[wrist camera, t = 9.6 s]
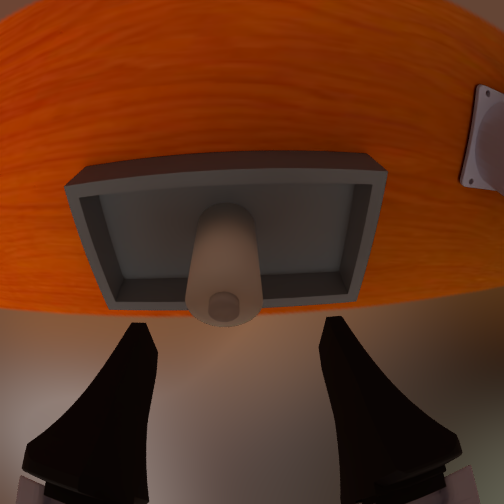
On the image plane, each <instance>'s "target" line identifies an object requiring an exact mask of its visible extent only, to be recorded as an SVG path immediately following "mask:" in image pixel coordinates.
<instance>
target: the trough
mask: <svg viewBox="0 0 504 504" xmlns="http://www.w3.org/2000/svg"><path fill="white" fill-rule="evenodd" d="M387 173H388V171H387V170H385V169H384V168H383V167H382V166H381V165H380V164H379V163H377V162H376V161H375V160H374V159H373V158H372V157H370V156H369V155H368V154H364V153H349V152H328V151H235V152H214V153H198V154H184V155H173V156H162V157H152V158H144V159H135V160H127V161H120V162H113V163H106V164H100V165H93V166H87V167H85V168H84V169H83V170H81V171H80V172H79V173H78V174H77V175H76V176H75V177H74V178H73V179H71V180H70V181H69V182H68V183H67V184H66V185H65V186H64V188H65V192H66V195H67V199H68V202H69V206H70V209H71V212H72V215H73V218H74V221H75V224H76V227H77V230H78V233H79V236H80V239H81V242H82V245H83V247H84V250H85V253H86V256H87V258H88V261H89V263H90V266H91V268H92V271H93V273H94V276H95V278H96V281H97V283H98V285H99V288H100V290H101V292H102V295H103V297H104V299H105V301H106V304H107V306H108V308H109V309H110V310H188V308H187V306H186V302H185V295H186V289H187V283H188V277H189V271H190V265H191V259H192V253H193V248H194V242H195V237H196V232H197V226H198V222H199V219H200V217H201V215H202V214H203V212H204V211H205V210H206V209H208V208H209V207H211V206H213V205H215V204H219V203H233V204H237V205H239V206H241V207H243V208H245V209H246V210H247V211H248V212H249V213H250V214H251V216H252V217H253V220H254V223H255V231H256V240H257V249H258V258H259V267H260V276H261V285H262V294H263V305H262V308H268V307H286V306H302V305H316V304H330V303H342V302H353V301H356V300H357V297H358V294H359V290H360V287H361V284H362V280H363V277H364V273H365V270H366V266H367V262H368V259H369V255H370V251H371V247H372V243H373V239H374V235H375V231H376V227H377V222H378V218H379V213H380V209H381V204H382V199H383V195H384V189H385V184H386V179H387Z"/></svg>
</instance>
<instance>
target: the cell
mask: <svg viewBox="0 0 504 504" xmlns="http://www.w3.org/2000/svg"><path fill="white" fill-rule="evenodd" d="M185 302H186V306H187V308H188V310H189V311H190V313H191V314H192V315H193V316H194V317H195V318H197V319H199V320H200V321H202V322H204V323H206V324H209V325H212V326H219V327H232V326H238V325H241V324H244V323H246V322H248V321H250V320H252V319H253V318H254V317H255V316H256V315H257V314H258V313H259V312H260V310H261V308H262V305H263V294H262V285H261V276H260V267H259V258H258V249H257V240H256V231H255V223H254V220H253V217H252V216H251V214H250V213H249V212H248V211H247V210H246V209H245V208H243V207H241V206H239V205H237V204H233V203H219V204H215V205H213V206H211V207H209V208H208V209H206V210H205V211H204V212H203V214H202V215H201V217H200V219H199V222H198V226H197V232H196V237H195V242H194V248H193V253H192V259H191V265H190V271H189V277H188V283H187V289H186V295H185Z"/></svg>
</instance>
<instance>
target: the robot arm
mask: <svg viewBox="0 0 504 504" xmlns="http://www.w3.org/2000/svg"><path fill="white" fill-rule="evenodd" d="M486 91H487V95H486ZM469 180H470V181H469ZM460 183H461V185H463V186H464V187H471V188H479V189H487V190H494V191H498V192H499V193H500V194H501V195H503V196H504V94H502V93H500V92H498V91H496V90H494V89H491V88H489V87H487V86H485V85H481V84H479V85H478V86H477V88H476V96H475V105H474V112H473V118H472V125H471V130H470V136H469V141H468V146H467V151H466V156H465V160H464V164H463V169H462V173H461V177H460ZM319 353H320V360H321V367H322V372H323V376H324V380H325V383H326V387H327V391H328V394H329V399H330V403H331V406H332V410H333V414H334V419H335V425H336V432H337V441H338V451H339V464H340V487H341V488H340V489H341V495H340V499H341V504H359V503H362V504H480V500H479V495H478V491H477V487H476V483H475V479H474V475H473V471H472V468H471V465H468V466H466V467H465V468H462V469H460V470H458V471H456V472H454V473H452V474H450V475H448V476H446V477H444V475H443V472H445V471H446V467H445V464H446V463H448V462H450V461H452V460H454V459H455V458H457V457H459V456H460V455H461V454H462V449H461V446H460V443H459V440H458V437H457V435H456V434H455V433H453V432H451V431H450V430H448V429H447V428H445V427H443V426H442V425H440V424H439V423H437V422H436V421H435V420H433V419H432V418H431V417H429V416H428V415H427V414H425V413H424V412H423V411H422V410H420V409H419V408H418V407H417V406H416V405H415V404H413V403H412V402H411V401H410V400H409V399H408V398H407V397H406V396H405V395H404V394H403V393H402V392H401V391H400V390H398V388H397V387H396V386H395V385H394V384H393V383H392V382H391V381H390V380H389V379H388V378H387V377H386V375H385V374H384V373H383V372H382V371H381V370H380V368H379V367H378V366H377V365H376V364H375V362H374V361H373V360H372V358H371V357H370V356H369V355H368V353H367V352H366V350H365V349H364V348H363V346H362V345H361V344H360V342H359V341H358V339H357V338H356V337H355V335H354V334H353V332H352V331H351V329H350V328H349V326H348V325H347V323H346V322H345V321H344V319H343V317H342V316H333V317H326V321H325V325H324V329H323V333H322V336H321V340H320V344H319ZM157 359H158V351H157V349H156V347H155V344H154V342H153V339H152V337H151V334H150V332H149V329H148V327H147V325H146V323H131V325H130V326H129V328H128V329H127V331H126V332H125V334H124V336H123V338H122V339H121V340H120V342H119V343H118V345H117V347H116V348H115V350H114V351H113V353H112V354H111V356H110V357H109V359H108V360H107V362H106V363H105V365H104V366H103V368H102V369H101V370H100V372H99V373H98V374H97V376H96V377H95V379H94V380H93V381H92V383H91V384H90V385H89V386H88V388H87V389H86V390H85V392H84V393H83V394H82V395H81V396H80V397H79V398H78V400H77V401H76V402H75V403H74V404H73V405H72V406H71V407H70V408H69V409H68V410H67V411H66V413H64V414H63V415H62V416H61V417H60V418H59V419H58V420H57V421H56V422H55V423H54V424H52V425H51V426H50V427H49V428H48V429H47V430H45V431H44V432H43V433H42V434H40V435H39V436H38V437H36V438H35V439H34V440H32V441H31V442H29V443H28V444H27V446H26V450H25V455H24V460H23V465H22V469H23V471H25V472H28V473H29V474H31V475H33V476H35V477H37V478H40V479H42V480H44V481H46V483H45V486H44V485H42V484H39V483H37V482H35V481H33V480H30V479H28V478H26V477H24V476H20V479H19V485H18V492H17V499H16V504H147V503H148V502H149V496H148V486H147V470H146V439H147V423H148V416H149V411H150V405H151V399H152V394H153V389H154V384H155V379H156V371H157Z"/></svg>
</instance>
